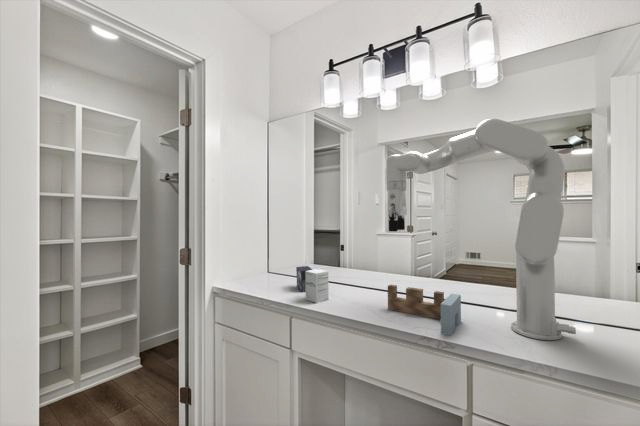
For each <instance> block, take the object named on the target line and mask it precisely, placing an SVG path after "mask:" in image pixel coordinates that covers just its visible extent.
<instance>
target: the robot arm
mask: <svg viewBox="0 0 640 426" xmlns="http://www.w3.org/2000/svg"><path fill="white" fill-rule="evenodd" d="M494 151H497V152H500V153H503V154H504V155H507V156H510V157H513V158H514V159H515V160H516V162H518V163H519V164H521V165H523V166H525V167H526V168H527V169H528V173H529V174H528V182H527V188H526V196H525V198H524V201H523V202H522V205H521V209H520V216H519V221H518V227H517V228H518V229H517V231H516V232H517V233H516V238H515V244H514V248H515V259H516V260H515V261H516V262H515V263H516V264H515V267H516V268H515V273H516V280H515V281H516V282H515V283H516V286H515V287H516V320H515V321H513V322H511V323H510V328H511V330H512V331H514V332H515V333H517V334H519V335H521V336H525V337H528V338H531V339H535V340H544V341H558V340H560V339H562V338H563V333H567V334H571V335H576V334H577V331H576V330H577V329H576V327H574V326H570V324H567V323H560V322H558V321H557V318H556V303H555V302H556V298H555V297H556V296H555V295H556V293H555V292H556V291H555V289H556V287H555V286H556V285H555V283H556V279H555V278H556V277H555V274H556V273H555V270H556V269H555V256H556V253H557V252H558V251H557V250H558V247H559V246H558V245H559V241H560V236H561V231H562V230H561V229H562V226H563V225H562V224H563V219H564V215H565V214H564V205H563V203H562V201H561V200H562V195H563V194H562V193H563V189H564V182H565V172H566V171H565V169H566V168H565V164H564V163H565V162H564V161H563V159H562V157H561V155H560V154H559V153H558V152H557V151H556V150H555V149H553V147H551V146H549V142H548V140H547V137H546V136H545V135H544V134H542V133H541V132H539V131H536V130H533V129H530V128H528V127H524V126H521V125H518V124H516V123H515V124H514V123H511V122H509V121H506V120H503V119H499V118H489V119H485V120H483V121H481V122H480V123H479V124H478V125H477V126H476V128H475V129H474V130H471V131H468V132H466V133H463V134H459V135H457V136H453V137H451V138H449V139H448V141H446V142H445V144H444V145H443V146H441V147H440V148H438V149H436V150H433V151H430V152H427V153H424V154H423V153H420V152H418V151H413V150H412V151H409V152H405V153H403V154H392V155H389V156H387V157H386V163H385V164H386V173H385V174H386V192H387V193H388V194H387V195H388V196H387V214H388V231H389V232H398V231H399V230H400V231H405V227H406V226H405V223H406V222H405V220H406V219H405V216H406V215H407V212H408V209H407V197H406V196H407V195H406V191H407V172H410V173H414V174H417V175H424V174H427V173H430V172H434V171H437V170H440V169H443V168H446V167H448V166H451V165H453V164H455V163H458V162H460V161H464V160H467V159H470V158H474V157H476V156H481V155H484V154H487V153H489V152H490V153H491V152H494ZM562 332H563V333H562Z"/></svg>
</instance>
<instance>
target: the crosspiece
mask: <svg viewBox="0 0 640 426" xmlns="http://www.w3.org/2000/svg"><path fill="white" fill-rule="evenodd" d="M461 298H462V297H461V294H458V293H457V294H455V293H450V294H449V295H448V296H447V297H446V298H444V301H443V302H442V303H441V319H440V334H443V335H444V334H445V335H449V336H452V335H453V334H454V333H455V331H456V326H457V327H459V325H460V323H461V322H462V306H461V305H462V302H461V301H462V300H461Z"/></svg>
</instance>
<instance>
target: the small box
mask: <svg viewBox="0 0 640 426" xmlns="http://www.w3.org/2000/svg"><path fill="white" fill-rule="evenodd" d="M308 270H314V269H313V268H311V267H310V266H309V265H305V266H303V265H302V266H296V270H295V271H296V288H297V289H298V291H300V292H301V293H306V273H305V271H308Z"/></svg>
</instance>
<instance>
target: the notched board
mask: <svg viewBox="0 0 640 426" xmlns="http://www.w3.org/2000/svg"><path fill="white" fill-rule="evenodd" d="M444 300H445V292H444V291H438V290H435V291H434V292H433V302H428V301H424V288H417V287H412V286H411V287H410V286H408V287H406V288H405V298H404V297H398V285H395V284H389V285H387V310H390V311H396V312H400V313H406V314H411V315H416V316H421V317H427V318H432V319H437V320H441V303H442V302H443V301H444Z"/></svg>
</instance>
